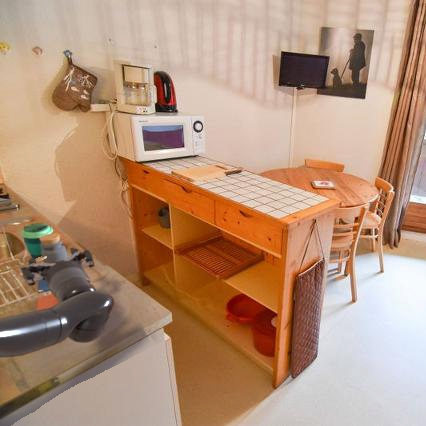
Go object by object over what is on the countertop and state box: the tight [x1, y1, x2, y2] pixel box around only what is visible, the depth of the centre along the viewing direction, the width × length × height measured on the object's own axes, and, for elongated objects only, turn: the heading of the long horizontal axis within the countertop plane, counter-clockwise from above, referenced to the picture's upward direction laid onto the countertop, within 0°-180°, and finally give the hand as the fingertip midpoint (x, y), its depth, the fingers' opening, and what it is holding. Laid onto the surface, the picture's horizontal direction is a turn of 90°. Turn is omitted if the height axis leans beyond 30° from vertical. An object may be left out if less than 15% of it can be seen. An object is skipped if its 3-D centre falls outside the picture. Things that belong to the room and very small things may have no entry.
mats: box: [36, 279, 59, 311], centre depth 96 cm, size 11×23×1 cm, turn 38°
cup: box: [20, 222, 54, 259], centre depth 109 cm, size 8×8×12 cm
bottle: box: [40, 232, 69, 264], centre depth 98 cm, size 6×6×15 cm
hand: (53, 255), depth 87 cm, fingers open, 8 cm apart
